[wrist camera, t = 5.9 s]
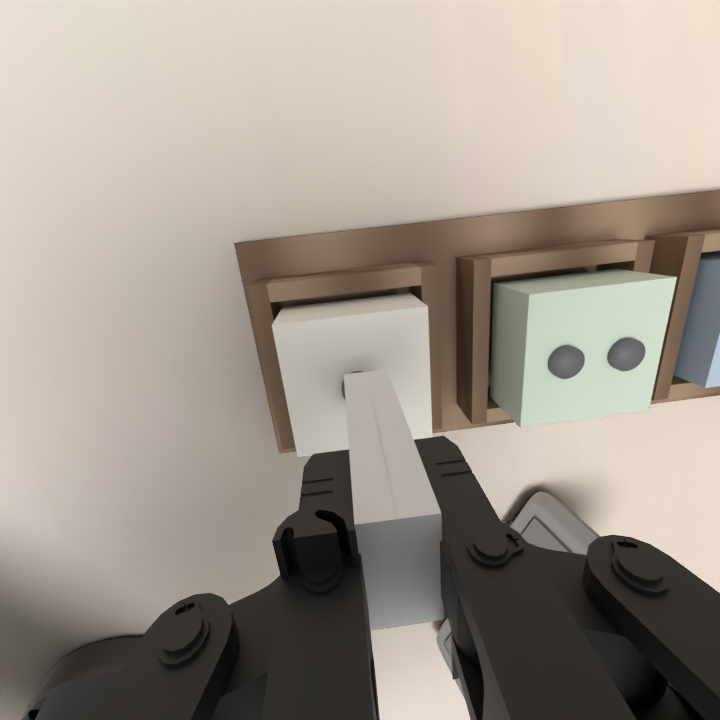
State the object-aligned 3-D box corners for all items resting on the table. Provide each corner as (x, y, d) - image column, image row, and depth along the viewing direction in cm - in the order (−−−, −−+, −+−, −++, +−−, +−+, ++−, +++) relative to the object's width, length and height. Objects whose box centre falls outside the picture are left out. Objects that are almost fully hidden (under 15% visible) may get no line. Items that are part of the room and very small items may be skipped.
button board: (281, 445, 22) (273, 480, 19) (238, 242, 18) (219, 244, 15) (741, 385, 23) (803, 408, 20) (803, 181, 19) (894, 171, 16)
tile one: (302, 420, 18) (297, 461, 15) (282, 307, 16) (270, 326, 13) (416, 405, 19) (434, 443, 15) (410, 292, 17) (430, 308, 13)
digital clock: (539, 472, 24) (684, 639, 14) (622, 523, 27) (797, 698, 17) (400, 616, 28) (438, 827, 18) (482, 650, 30) (556, 853, 21)
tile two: (489, 396, 19) (523, 431, 16) (493, 282, 17) (533, 295, 13) (598, 382, 19) (654, 413, 16) (615, 268, 17) (684, 277, 14)
